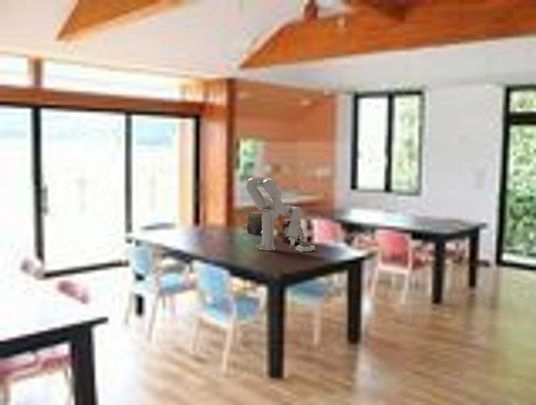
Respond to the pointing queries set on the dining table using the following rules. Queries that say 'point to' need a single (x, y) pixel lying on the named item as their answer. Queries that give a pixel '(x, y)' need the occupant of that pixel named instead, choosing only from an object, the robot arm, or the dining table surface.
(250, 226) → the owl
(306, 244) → the camera body
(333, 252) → the dining table surface
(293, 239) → the lens
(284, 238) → the brown patterned box
